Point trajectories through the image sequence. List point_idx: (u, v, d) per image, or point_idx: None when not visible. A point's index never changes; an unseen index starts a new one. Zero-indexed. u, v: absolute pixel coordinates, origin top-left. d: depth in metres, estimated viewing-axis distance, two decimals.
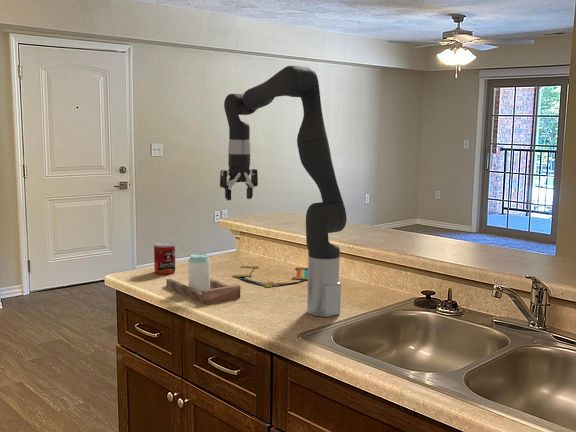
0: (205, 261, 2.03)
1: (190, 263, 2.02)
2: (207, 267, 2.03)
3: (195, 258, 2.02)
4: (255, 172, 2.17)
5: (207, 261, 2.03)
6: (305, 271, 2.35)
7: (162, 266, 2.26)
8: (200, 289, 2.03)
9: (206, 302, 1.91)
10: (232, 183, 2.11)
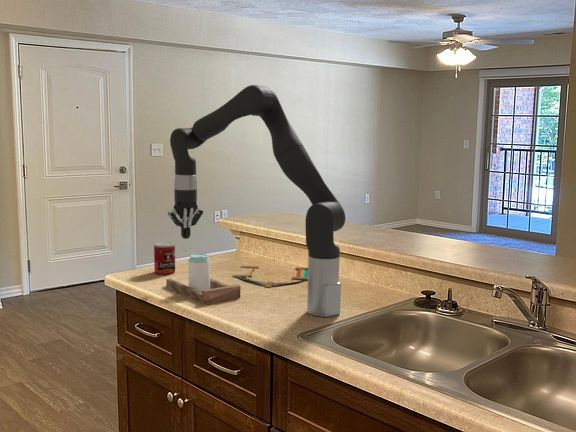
0: (205, 261, 2.03)
1: (190, 263, 2.02)
2: (207, 267, 2.03)
3: (195, 258, 2.02)
4: (200, 213, 2.12)
5: (207, 261, 2.03)
6: (305, 271, 2.35)
7: (162, 266, 2.26)
8: (200, 289, 2.03)
9: (206, 302, 1.91)
10: (185, 221, 2.08)
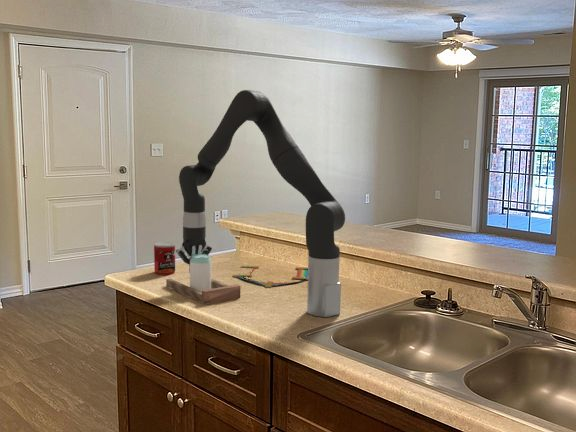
0: (207, 261, 2.02)
1: (192, 263, 2.02)
2: (209, 267, 2.02)
3: (197, 258, 2.01)
4: (209, 249, 2.09)
5: (209, 261, 2.02)
6: (305, 271, 2.35)
7: (162, 266, 2.26)
8: (201, 289, 2.02)
9: (206, 302, 1.91)
10: None
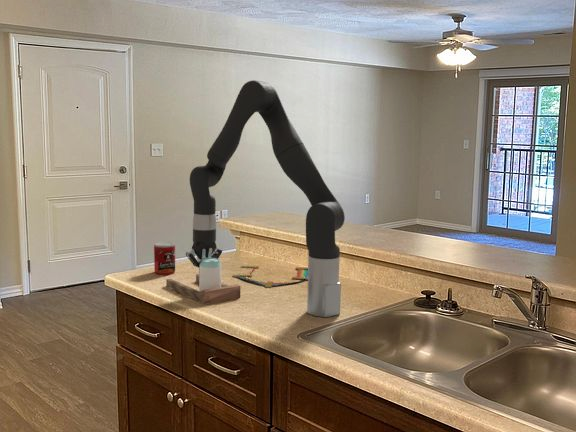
0: (217, 266, 1.96)
1: (201, 267, 1.96)
2: (218, 272, 1.97)
3: (206, 262, 1.95)
4: (219, 252, 2.04)
5: (219, 266, 1.97)
6: (305, 271, 2.35)
7: (162, 266, 2.26)
8: None
9: (206, 302, 1.91)
10: None
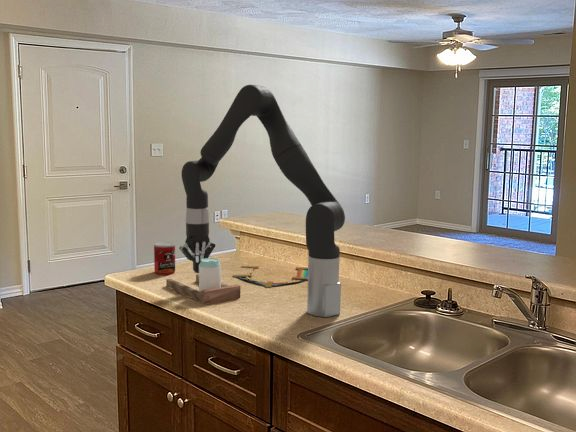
0: (216, 265, 1.96)
1: (200, 268, 1.96)
2: (218, 272, 1.97)
3: (205, 262, 1.96)
4: (212, 246, 2.07)
5: (218, 266, 1.97)
6: (305, 271, 2.35)
7: (162, 266, 2.26)
8: None
9: (206, 302, 1.91)
10: (197, 255, 2.03)
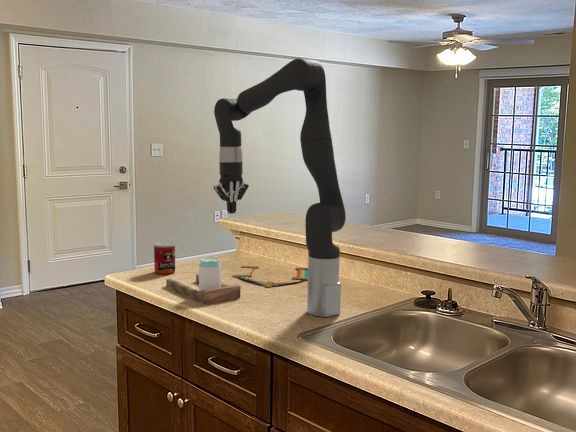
0: (216, 265, 1.96)
1: (200, 267, 1.96)
2: (218, 272, 1.97)
3: (206, 262, 1.96)
4: (246, 186, 2.05)
5: (218, 266, 1.97)
6: (305, 271, 2.35)
7: (162, 266, 2.26)
8: None
9: (206, 302, 1.91)
10: (231, 195, 2.01)
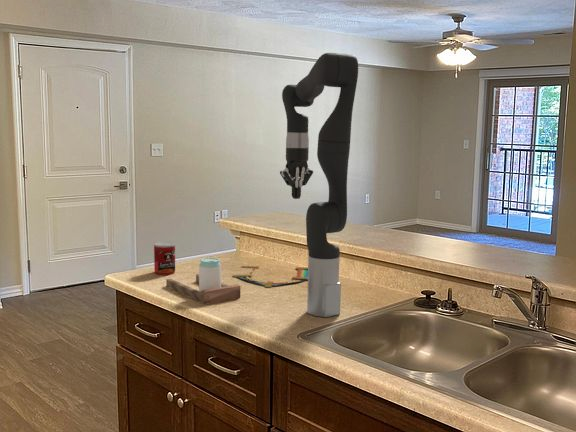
0: (217, 265, 1.96)
1: (201, 267, 1.96)
2: (218, 272, 1.97)
3: (206, 262, 1.96)
4: (310, 172, 2.07)
5: (218, 266, 1.97)
6: (305, 271, 2.35)
7: (162, 266, 2.26)
8: None
9: (206, 302, 1.91)
10: (296, 180, 2.04)
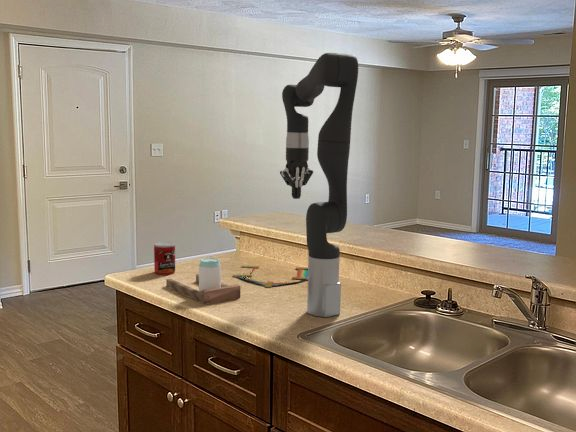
0: (216, 265, 1.96)
1: (200, 268, 1.96)
2: (218, 272, 1.97)
3: (205, 262, 1.96)
4: (310, 172, 2.07)
5: (218, 265, 1.97)
6: (305, 271, 2.35)
7: (162, 266, 2.26)
8: None
9: (206, 302, 1.91)
10: (296, 180, 2.04)
